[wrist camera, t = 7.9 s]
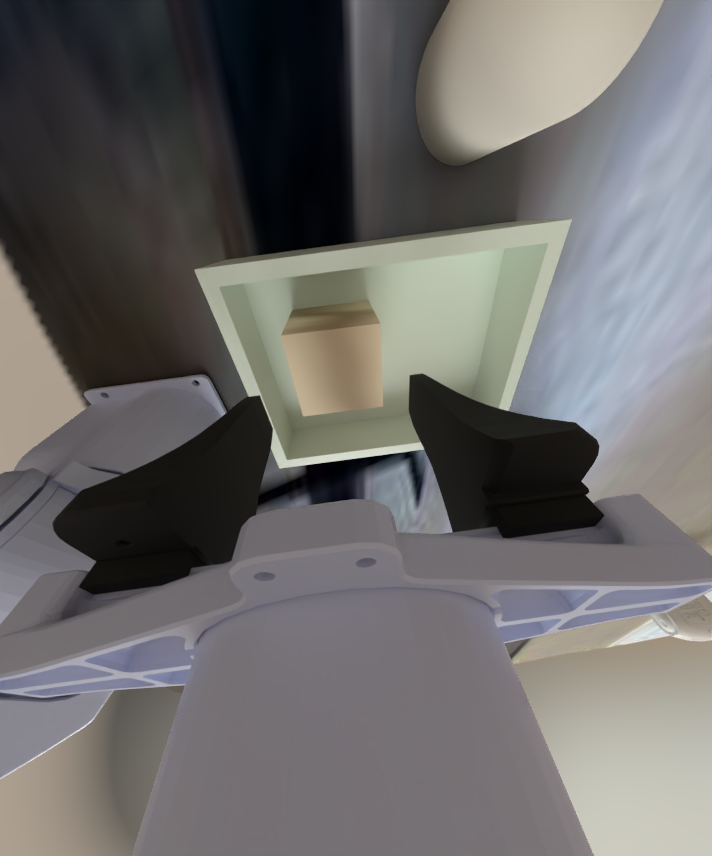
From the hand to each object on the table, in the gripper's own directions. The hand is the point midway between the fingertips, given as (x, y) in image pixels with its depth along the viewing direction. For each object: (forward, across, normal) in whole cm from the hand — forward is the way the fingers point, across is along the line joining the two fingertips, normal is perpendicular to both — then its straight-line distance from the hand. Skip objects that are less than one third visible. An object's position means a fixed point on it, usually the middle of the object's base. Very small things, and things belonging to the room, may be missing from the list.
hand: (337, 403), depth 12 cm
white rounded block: (+8, -54, +53) cm, 76 cm away
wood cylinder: (+8, -8, -11) cm, 16 cm away
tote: (+8, -3, +1) cm, 9 cm away
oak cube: (+8, 0, 0) cm, 8 cm away
